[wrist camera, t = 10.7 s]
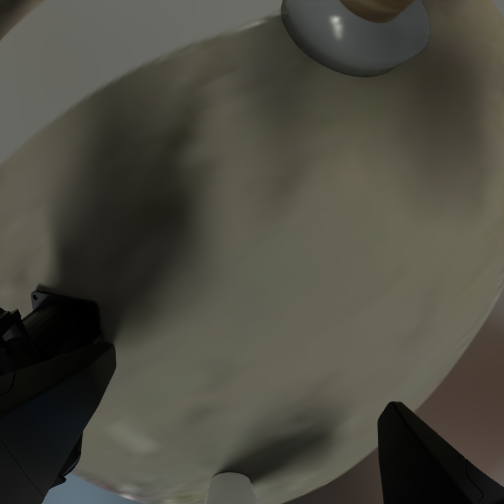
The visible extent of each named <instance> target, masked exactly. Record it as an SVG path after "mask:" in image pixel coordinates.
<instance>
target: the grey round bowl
mask: <svg viewBox="0 0 504 504" xmlns="http://www.w3.org/2000/svg"><path fill="white" fill-rule="evenodd" d="M281 14H282V20H283V23H284V26H285V28H286V30H287V32H288V34H289V35H290V37H291V38H292V40H293V41H294V42H295V43H296V44H297V46H298V47H299V48H300V49H301V50H303V51H304V52H305V53H306V54H307V55H308V56H310V57H311V58H312V59H314V60H315V61H317V62H318V63H320V64H322V65H324V66H325V67H327V68H330V69H332V70H334V71H337V72H340V73H343V74H346V75H351V76H357V77H373V76H378V75H382V74H384V73H386V72H388V71H390V70H392V69H393V68H395V67H397V66H398V65H400V64H401V63H403V62H405V61H406V60H408V59H410V58H411V57H413V56H415V55H416V54H418V53H419V52H421V51H422V50H423V49H424V48H425V46H426V45H427V43H428V40H429V37H430V21H429V17H428V14H427V11H426V8H425V6H424V4H423V2H422V1H421V0H415V1H414V2H413V3H411V4H410V5H409V6H408V7H407V8H406V9H404V10H403V11H402V12H401V13H400V14H399V15H398V16H396V17H395V18H394V19H393V20H392V21H390V22H386V23H375V22H371V21H368V20H365V19H363V18H360V17H359V16H357V15H355V14H353V13H352V12H351V11H349V10H348V9H347V8H346V7H345V6H344V5H343V4H342V3H341V2H340V1H339V0H283V1H282V6H281Z"/></svg>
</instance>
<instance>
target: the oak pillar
mask: <svg viewBox="0 0 504 504" xmlns="http://www.w3.org/2000/svg"><path fill="white" fill-rule="evenodd" d="M339 1H340V2H341V3H342V4H343V5H344V6H345V7H346V8H347V9H348V10H349V11H351V12H352V13H353V14H355V15H357V16H359V17H360V18H363V19H365V20H368V21H371V22H375V23H386V22H390V21H392V20H393V19H394V18H395V17H396V16H398V15H399V14H400V13H401V12H402V11H403V10H404V9H406V8H407V7H408V6H409V5H410V4H411V3H413V2H414V1H415V0H339Z"/></svg>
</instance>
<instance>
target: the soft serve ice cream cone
mask: <svg viewBox="0 0 504 504" xmlns="http://www.w3.org/2000/svg"><path fill="white" fill-rule="evenodd" d="M204 504H258V502H257V499H256V496H255V494H254V491H253V488H252V485H251V482H250V480H249V478H248V477H247V476H245V475H243V474H240V473H233V472H226V473H220V474H217V475H215V476H214V477H213V478H212V480H211V483H210V486H209V489H208V493H207V496H206V499H205V502H204Z"/></svg>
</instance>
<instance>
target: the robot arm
mask: <svg viewBox="0 0 504 504" xmlns="http://www.w3.org/2000/svg"><path fill="white" fill-rule="evenodd" d="M36 296H37V297H36ZM31 300H32V307H33V311H32V312H31V313H30V314H28V315H27V316H26V317H24V318H23V319H22V320H21V315H20V313H19V311H18V309H17V310H14V311H12V312H10V311H4V310H3V309H2V308H0V504H42V502H43V500H44V497H45V496H46V494H47V492H48V491H49V489H51V488H52V487H55V486H57V485H60V484H62V483H64V482H65V481H66V478H65V477H64V476H66V475H67V474H68V473H70V472H71V471H72V470H73V469H74V468H75V466H76V465H77V463H78V461H79V459H80V457H81V446H82V437H83V430H84V429H85V427H86V425H87V424H88V422H89V420H90V419H91V417H92V416H93V414H94V412H95V411H96V409H97V407H98V405H99V403H100V401H101V399H102V397H103V395H104V393H105V391H106V388H107V386H108V384H109V382H110V380H111V378H112V376H113V374H114V372H115V369H116V351H115V346H114V345H113V344H111V343H108V342H106V341H103V333H102V331H101V329H100V324H99V313H98V306H97V304H96V303H95V302H93V301H88V300H83V299H77V298H72V297H67V296H62V295H57V294H53V293H48V292H43V291H39V290H35V291H34V292H32V293H31ZM90 306H91V307H92V308H93V310H91V309H90ZM377 425H378V450H379V451H378V453H379V466H380V474H381V483H382V492H383V501H384V504H504V487H503V486H501V485H500V484H499V483H497V482H496V481H494V480H493V479H491V478H490V477H488V476H487V475H486V474H484V473H483V472H482V471H480V470H479V469H478V468H477V467H475V466H474V465H473V464H472V463H471V462H469V461H468V460H467V459H465V457H464V456H463V455H461V454H460V453H459V452H458V451H457V450H455V449H454V448H453V447H452V446H451V445H450V444H449V443H447V442H446V441H445V440H444V439H443V438H442V437H441V436H439V435H438V434H437V433H436V432H435V431H434V430H433V429H431V428H430V427H429V426H428V425H427V424H426V423H424V422H423V421H422V420H421V419H420V418H419V417H418V416H416V415H415V414H414V413H413V412H412V411H411V410H410V409H409V408H408V407H406V406H405V405H404V404H403V403H402V402H395V401H392V402H389V403H388V405H387V406H386V408H385V409H384V411H383V412H382V414H381V415H380V417H379V419H378V424H377Z"/></svg>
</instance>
